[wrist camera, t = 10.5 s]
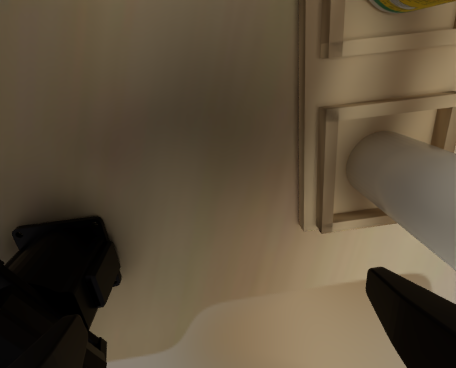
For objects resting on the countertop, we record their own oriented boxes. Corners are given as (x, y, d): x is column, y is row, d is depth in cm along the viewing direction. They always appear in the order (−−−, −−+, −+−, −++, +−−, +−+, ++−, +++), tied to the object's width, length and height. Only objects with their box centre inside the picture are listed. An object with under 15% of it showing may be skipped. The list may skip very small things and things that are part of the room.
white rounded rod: (344, 197, 21) (452, 299, 12) (348, 135, 19) (481, 200, 10) (405, 188, 21) (558, 282, 12) (415, 126, 19) (606, 183, 10)
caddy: (298, 223, 23) (309, 240, 21) (298, -142, 14) (316, -179, 12) (426, 206, 24) (449, 220, 21) (502, -158, 15) (554, -197, 13)
